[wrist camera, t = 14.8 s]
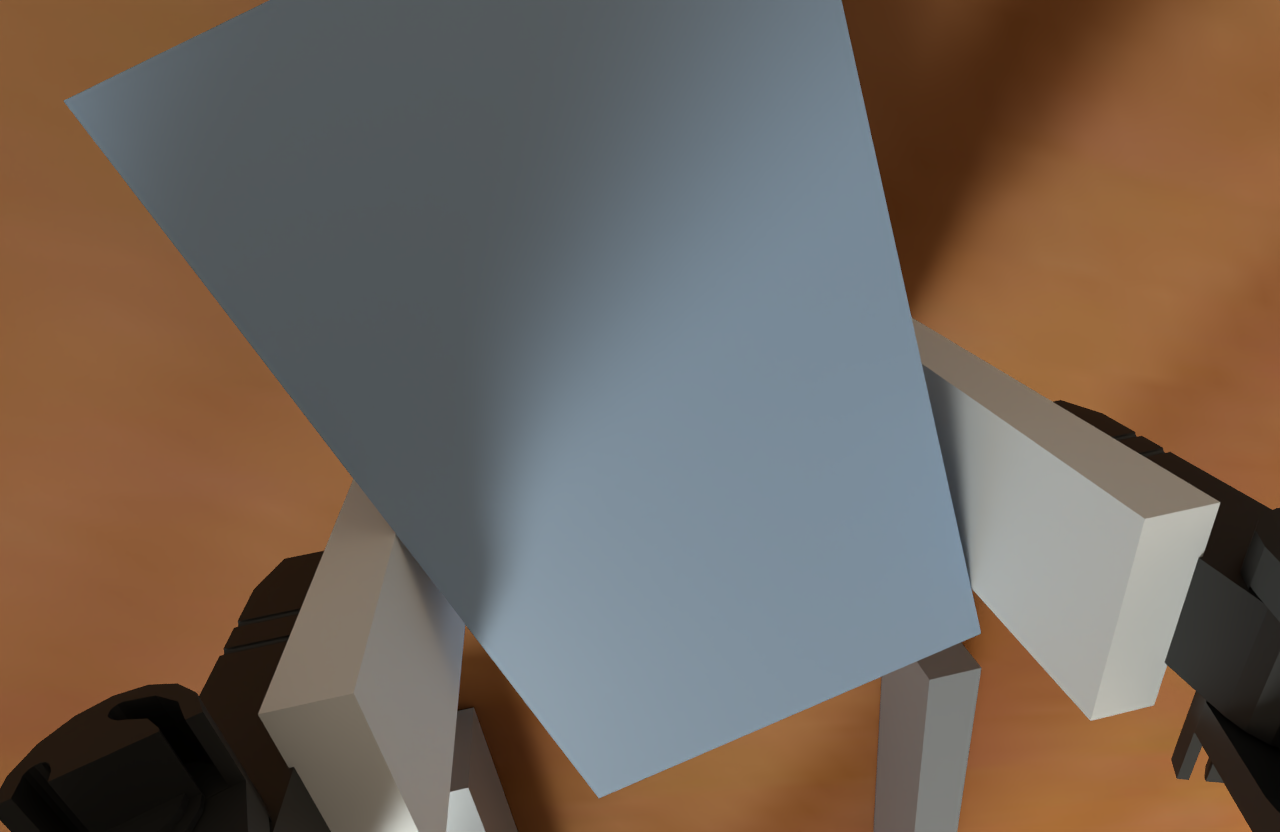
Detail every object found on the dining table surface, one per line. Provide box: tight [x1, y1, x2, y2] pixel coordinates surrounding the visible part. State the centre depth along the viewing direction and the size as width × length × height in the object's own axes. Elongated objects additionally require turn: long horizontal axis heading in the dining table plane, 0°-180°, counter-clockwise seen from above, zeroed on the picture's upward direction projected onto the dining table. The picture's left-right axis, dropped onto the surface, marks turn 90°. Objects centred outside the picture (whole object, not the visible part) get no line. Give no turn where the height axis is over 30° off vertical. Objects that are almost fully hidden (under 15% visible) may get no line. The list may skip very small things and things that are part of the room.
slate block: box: [64, 0, 981, 798], centre depth 10 cm, size 10×6×5 cm, turn 23°
